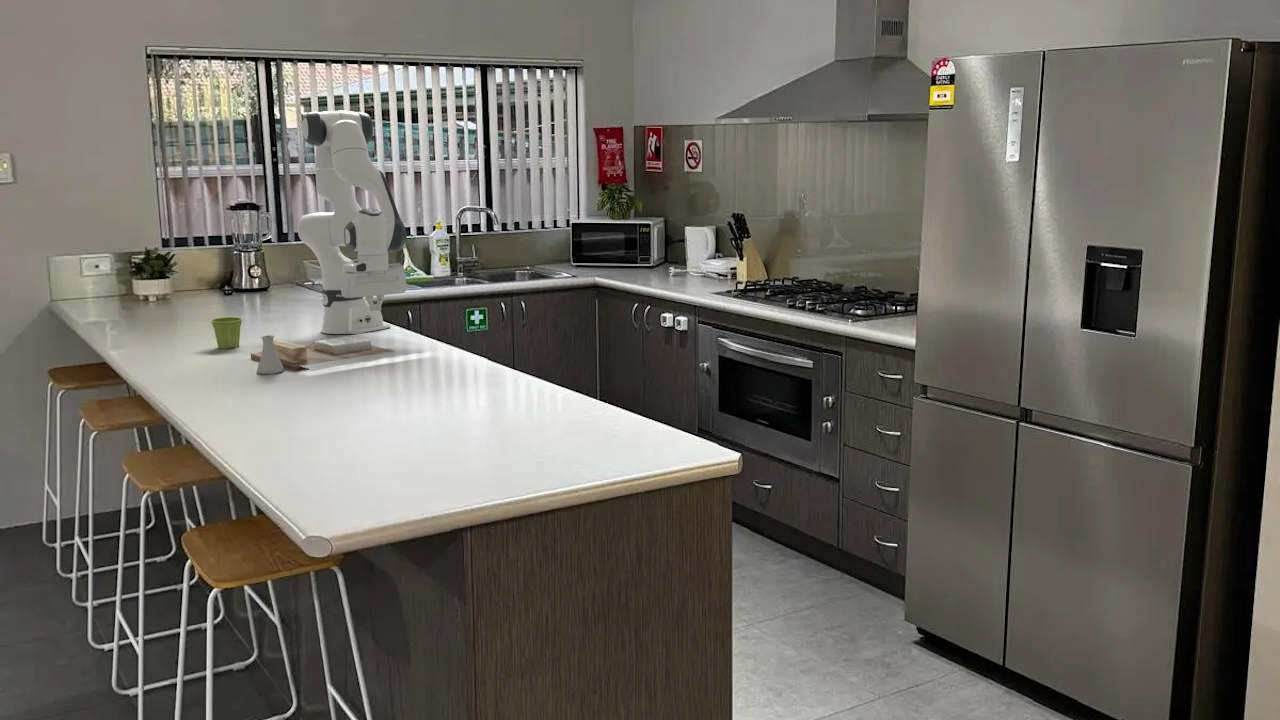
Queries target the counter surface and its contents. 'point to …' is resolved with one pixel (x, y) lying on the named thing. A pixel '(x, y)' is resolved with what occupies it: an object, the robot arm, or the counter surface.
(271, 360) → the flask
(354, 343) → the aluminium plate
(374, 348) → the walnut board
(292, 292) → the counter surface
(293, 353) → the bar
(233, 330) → the plant pot
